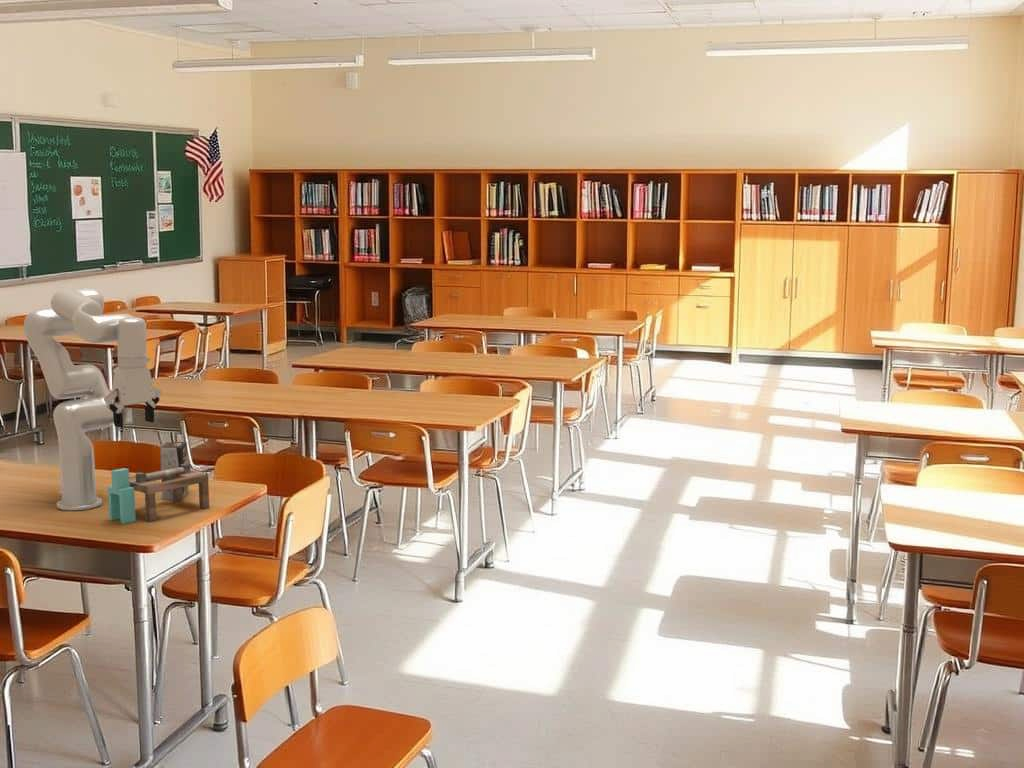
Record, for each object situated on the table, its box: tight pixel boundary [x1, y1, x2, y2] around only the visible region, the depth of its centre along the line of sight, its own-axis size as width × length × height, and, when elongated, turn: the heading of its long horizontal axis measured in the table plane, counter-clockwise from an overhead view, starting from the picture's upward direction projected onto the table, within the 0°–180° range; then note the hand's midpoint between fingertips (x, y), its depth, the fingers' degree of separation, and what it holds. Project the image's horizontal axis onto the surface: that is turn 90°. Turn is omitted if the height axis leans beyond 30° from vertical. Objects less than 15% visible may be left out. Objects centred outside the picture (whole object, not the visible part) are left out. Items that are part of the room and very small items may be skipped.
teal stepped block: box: [107, 467, 136, 525], centre depth 320 cm, size 7×4×15 cm, turn 51°
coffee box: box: [159, 441, 190, 500], centre depth 348 cm, size 9×6×16 cm
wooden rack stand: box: [129, 463, 210, 523], centre depth 331 cm, size 15×20×12 cm
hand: (134, 424), depth 313 cm, fingers open, 9 cm apart
